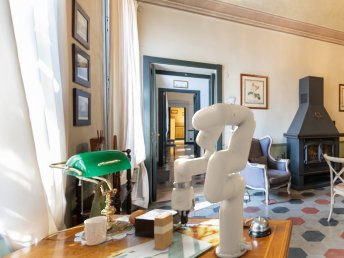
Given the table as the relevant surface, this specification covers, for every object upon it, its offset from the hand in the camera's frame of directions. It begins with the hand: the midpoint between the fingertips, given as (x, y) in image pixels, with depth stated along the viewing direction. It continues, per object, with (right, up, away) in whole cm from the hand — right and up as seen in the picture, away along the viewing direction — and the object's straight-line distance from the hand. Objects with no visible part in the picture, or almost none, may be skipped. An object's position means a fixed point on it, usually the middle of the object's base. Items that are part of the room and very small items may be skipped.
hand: (184, 223), depth 111 cm
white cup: (-36, -5, -8) cm, 37 cm away
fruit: (-29, -5, +11) cm, 32 cm away
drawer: (-10, -4, +2) cm, 11 cm away
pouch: (-43, -5, +4) cm, 44 cm away
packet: (-4, -5, -11) cm, 13 cm away
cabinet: (-14, -5, +3) cm, 15 cm away
